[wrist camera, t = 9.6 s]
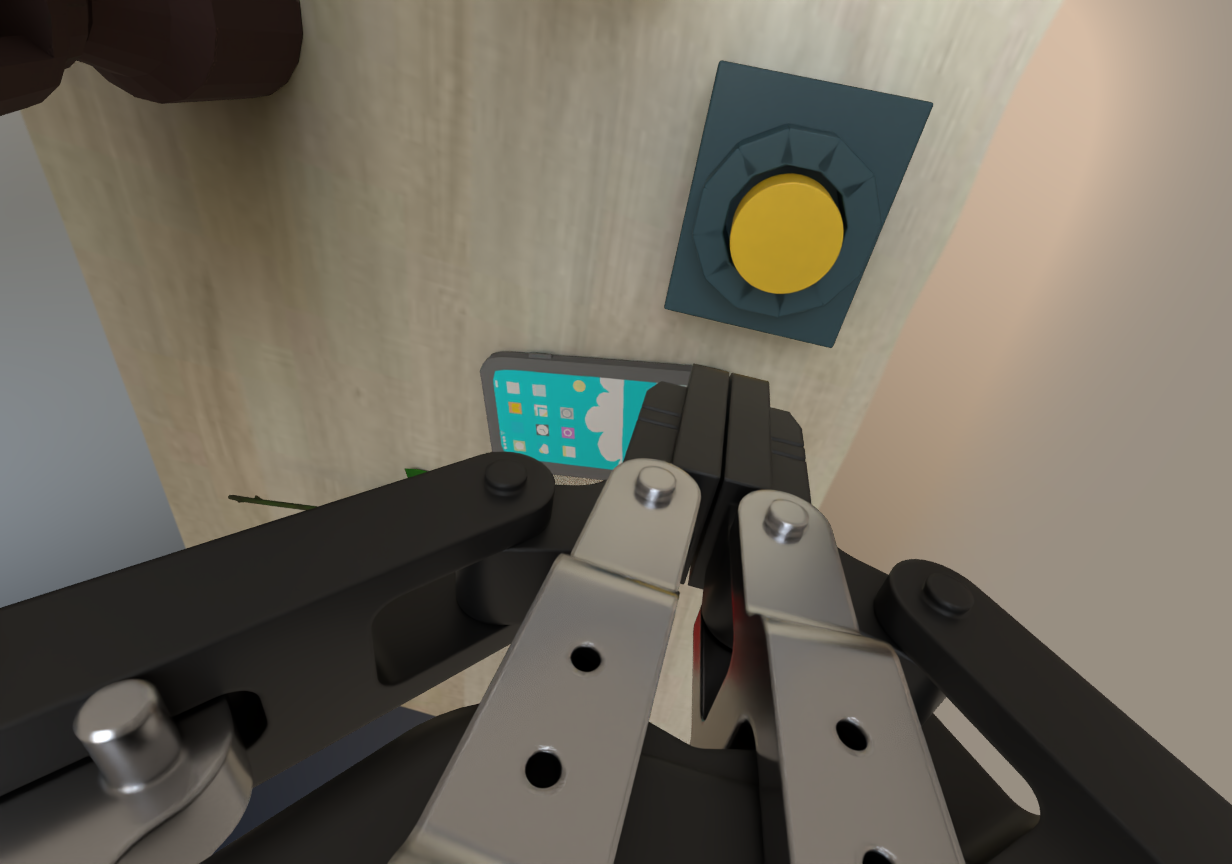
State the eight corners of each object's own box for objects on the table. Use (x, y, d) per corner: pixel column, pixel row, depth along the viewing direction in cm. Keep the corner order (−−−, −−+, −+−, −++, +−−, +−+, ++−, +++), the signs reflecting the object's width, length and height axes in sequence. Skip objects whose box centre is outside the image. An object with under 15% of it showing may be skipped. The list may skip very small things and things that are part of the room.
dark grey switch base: (724, 61, 25) (716, 59, 20) (910, 98, 24) (950, 106, 19) (673, 283, 30) (657, 324, 25) (823, 317, 30) (837, 368, 25)
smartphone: (721, 497, 36) (493, 471, 38) (722, 488, 36) (499, 462, 39) (734, 373, 31) (475, 352, 34) (735, 365, 32) (482, 346, 35)
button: (747, 162, 22) (747, 170, 20) (853, 185, 21) (861, 195, 20) (720, 266, 24) (717, 281, 22) (815, 287, 24) (820, 305, 22)
